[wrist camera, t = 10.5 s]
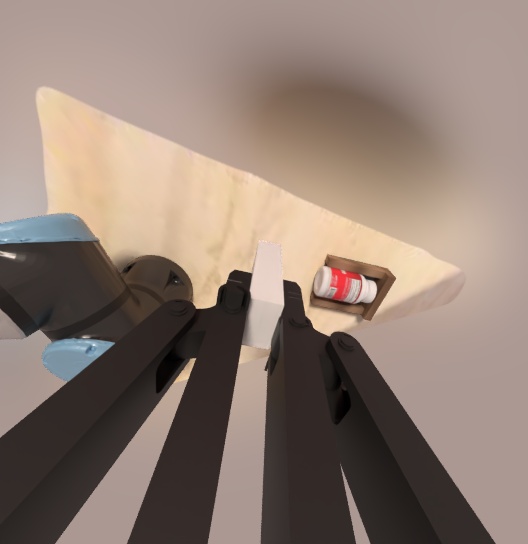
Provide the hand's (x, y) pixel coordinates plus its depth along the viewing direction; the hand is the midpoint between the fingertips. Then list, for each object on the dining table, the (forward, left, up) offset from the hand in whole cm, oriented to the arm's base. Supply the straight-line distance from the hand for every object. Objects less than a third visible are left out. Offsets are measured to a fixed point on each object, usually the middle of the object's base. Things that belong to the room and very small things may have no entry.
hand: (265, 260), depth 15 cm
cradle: (+20, -15, -28) cm, 38 cm away
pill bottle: (+13, -14, -25) cm, 31 cm away
